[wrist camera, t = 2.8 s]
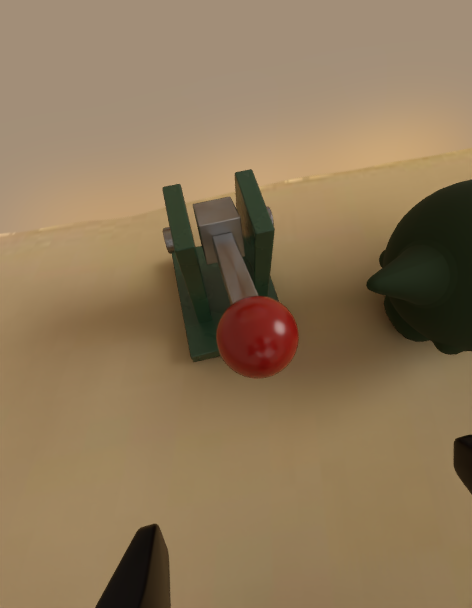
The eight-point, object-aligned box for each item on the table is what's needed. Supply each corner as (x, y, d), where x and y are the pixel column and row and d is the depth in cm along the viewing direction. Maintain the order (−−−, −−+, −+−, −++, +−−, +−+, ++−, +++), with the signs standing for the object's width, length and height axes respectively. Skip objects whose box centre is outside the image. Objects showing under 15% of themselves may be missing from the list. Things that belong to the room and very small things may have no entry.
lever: (310, 383, 12) (312, 325, 10) (230, 404, 12) (216, 349, 10) (242, 236, 21) (236, 189, 19) (195, 246, 20) (184, 200, 18)
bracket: (288, 339, 24) (310, 262, 15) (193, 362, 23) (159, 297, 15) (255, 242, 28) (258, 138, 19) (174, 260, 27) (138, 161, 19)
